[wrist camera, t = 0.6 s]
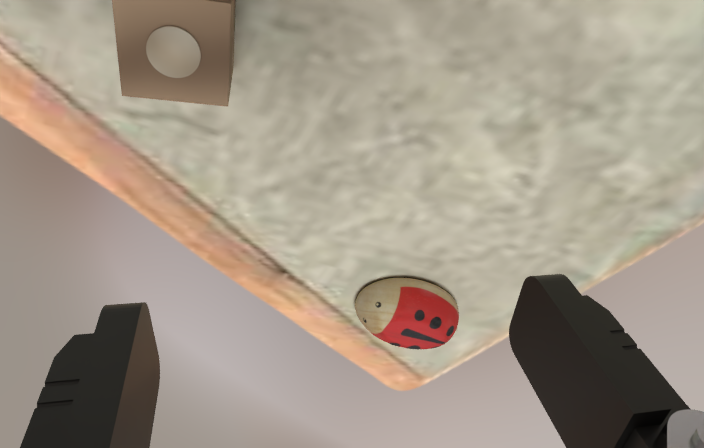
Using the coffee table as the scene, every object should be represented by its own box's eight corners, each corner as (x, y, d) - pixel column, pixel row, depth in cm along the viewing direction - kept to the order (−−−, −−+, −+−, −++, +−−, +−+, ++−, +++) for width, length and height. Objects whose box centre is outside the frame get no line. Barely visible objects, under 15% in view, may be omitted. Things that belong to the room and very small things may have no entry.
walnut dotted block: (134, -41, 26) (109, -12, 22) (236, -26, 27) (230, 5, 23) (141, 56, 29) (120, 97, 25) (233, 67, 30) (227, 108, 26)
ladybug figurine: (375, 261, 42) (382, 294, 39) (474, 289, 45) (487, 321, 42) (339, 315, 45) (344, 348, 42) (434, 337, 49) (444, 369, 46)
